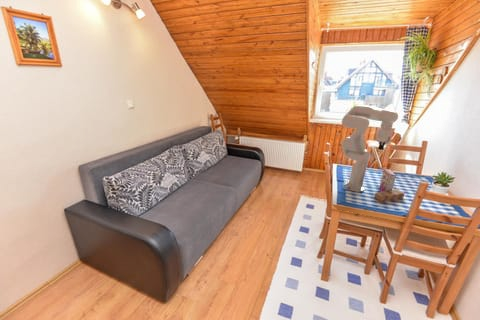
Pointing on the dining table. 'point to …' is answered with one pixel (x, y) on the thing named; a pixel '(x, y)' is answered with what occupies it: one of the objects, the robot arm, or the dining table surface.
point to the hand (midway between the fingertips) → (380, 149)
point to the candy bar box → (387, 180)
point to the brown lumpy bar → (389, 195)
